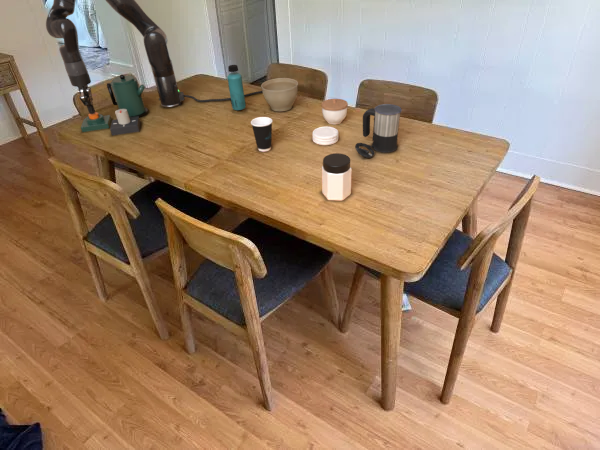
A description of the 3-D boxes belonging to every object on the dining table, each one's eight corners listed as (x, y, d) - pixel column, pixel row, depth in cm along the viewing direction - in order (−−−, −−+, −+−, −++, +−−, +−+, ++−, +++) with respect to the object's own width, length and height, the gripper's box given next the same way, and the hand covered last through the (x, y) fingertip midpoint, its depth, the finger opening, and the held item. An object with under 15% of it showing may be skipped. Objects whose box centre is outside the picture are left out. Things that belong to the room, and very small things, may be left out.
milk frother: (399, 143, 153) (403, 104, 144) (392, 163, 142) (396, 122, 133) (361, 139, 157) (363, 101, 148) (352, 158, 146) (353, 119, 137)
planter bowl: (278, 99, 195) (276, 75, 189) (306, 105, 187) (305, 81, 181) (256, 110, 185) (253, 86, 178) (284, 117, 177) (282, 92, 171)
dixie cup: (255, 144, 158) (251, 117, 152) (275, 143, 158) (273, 116, 151) (253, 154, 152) (249, 126, 145) (274, 153, 152) (271, 125, 145)
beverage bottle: (247, 107, 188) (242, 62, 176) (245, 113, 183) (238, 67, 171) (234, 108, 189) (227, 63, 177) (230, 113, 184) (223, 68, 171)
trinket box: (343, 127, 166) (344, 105, 160) (318, 125, 169) (318, 103, 164) (349, 117, 174) (350, 95, 168) (325, 115, 177) (325, 93, 171)
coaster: (342, 136, 160) (342, 127, 158) (332, 147, 153) (332, 138, 151) (318, 132, 164) (318, 124, 162) (308, 143, 157) (308, 134, 155)
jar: (334, 183, 133) (334, 149, 126) (355, 191, 129) (356, 157, 122) (317, 195, 128) (316, 161, 121) (338, 204, 124) (338, 169, 116)
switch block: (111, 119, 185) (108, 111, 183) (109, 128, 177) (106, 119, 175) (86, 123, 183) (82, 114, 181) (82, 132, 176) (79, 123, 173)
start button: (100, 115, 180) (98, 111, 179) (98, 118, 177) (97, 115, 176) (90, 116, 179) (88, 112, 178) (89, 120, 176) (87, 116, 175)
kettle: (158, 109, 192) (148, 70, 181) (145, 120, 182) (133, 79, 171) (123, 108, 195) (111, 69, 184) (109, 119, 185) (94, 79, 174)
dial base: (140, 122, 181) (138, 115, 179) (139, 131, 173) (137, 124, 171) (114, 126, 179) (112, 119, 177) (112, 135, 171) (109, 128, 169)
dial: (118, 121, 176) (114, 109, 172) (130, 119, 176) (126, 107, 173) (118, 125, 172) (114, 113, 169) (130, 123, 173) (126, 111, 170)
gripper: (70, 68, 171) (85, 108, 181) (64, 78, 161) (80, 120, 171) (89, 66, 172) (103, 106, 183) (84, 76, 162) (99, 117, 173)
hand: (92, 113), depth 177 cm, fingers closed
